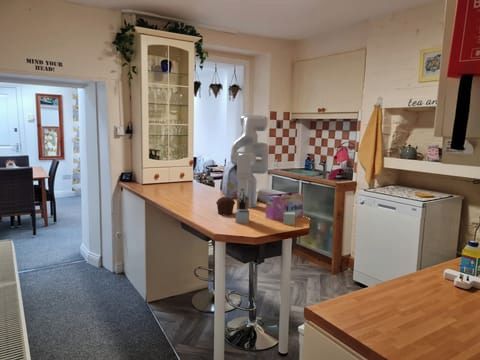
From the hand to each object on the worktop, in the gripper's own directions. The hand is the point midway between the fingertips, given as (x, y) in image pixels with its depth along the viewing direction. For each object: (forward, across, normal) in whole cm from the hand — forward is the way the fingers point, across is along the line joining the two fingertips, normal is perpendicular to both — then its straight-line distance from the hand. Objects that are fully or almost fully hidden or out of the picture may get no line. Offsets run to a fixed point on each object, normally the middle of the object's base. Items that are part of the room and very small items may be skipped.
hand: (242, 207), depth 202 cm
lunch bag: (+8, -73, -14) cm, 75 cm away
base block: (+8, 0, 0) cm, 8 cm away
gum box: (+8, -16, +24) cm, 30 cm away
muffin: (+8, -16, -12) cm, 22 cm away
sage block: (+8, -2, +26) cm, 27 cm away
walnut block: (+1, 0, 0) cm, 1 cm away
